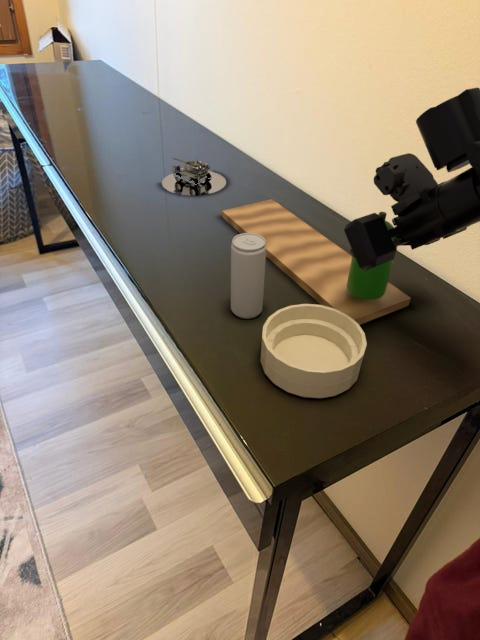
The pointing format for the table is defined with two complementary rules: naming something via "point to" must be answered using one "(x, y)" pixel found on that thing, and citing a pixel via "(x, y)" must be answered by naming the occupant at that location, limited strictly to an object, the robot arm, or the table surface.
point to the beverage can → (247, 274)
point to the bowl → (312, 350)
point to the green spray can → (370, 276)
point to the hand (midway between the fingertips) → (367, 247)
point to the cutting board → (311, 260)
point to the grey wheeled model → (193, 179)
